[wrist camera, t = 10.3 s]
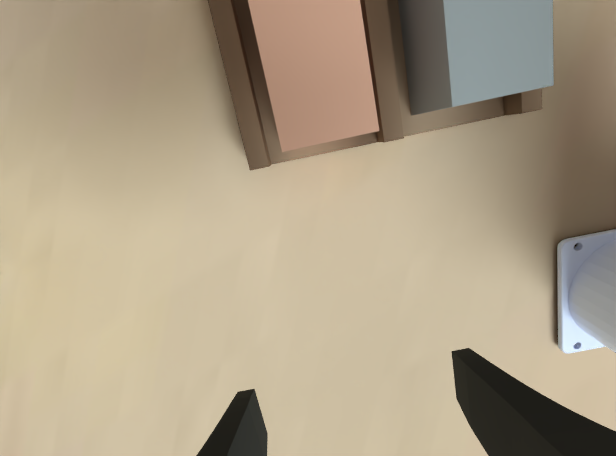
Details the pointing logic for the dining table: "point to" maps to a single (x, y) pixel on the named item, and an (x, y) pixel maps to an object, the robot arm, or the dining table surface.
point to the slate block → (474, 50)
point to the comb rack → (385, 79)
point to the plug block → (315, 69)
